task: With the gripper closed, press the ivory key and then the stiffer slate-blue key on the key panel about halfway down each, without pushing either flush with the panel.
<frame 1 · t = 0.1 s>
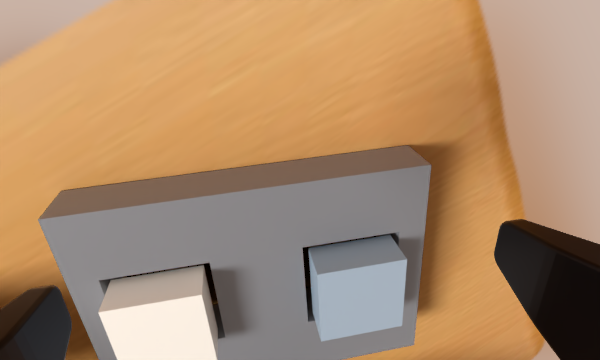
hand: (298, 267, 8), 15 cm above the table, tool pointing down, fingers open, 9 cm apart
slate key: (356, 287, 23), point 4 cm above the table, slide at 0.0 cm
key panel: (258, 262, 26), on the table
ivory key: (165, 321, 22), point 4 cm above the table, slide at 0.0 cm
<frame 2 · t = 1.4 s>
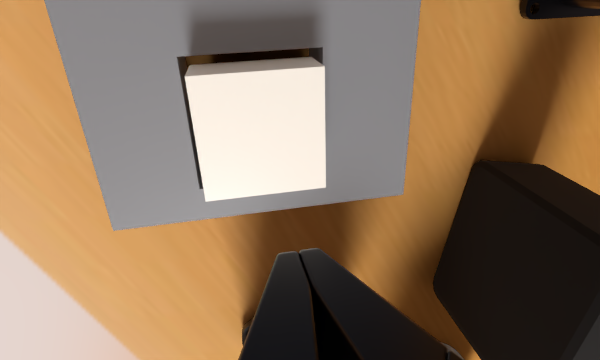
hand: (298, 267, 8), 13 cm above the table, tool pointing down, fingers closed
electronic device: (476, 225, 26), on the table
ivory key: (259, 127, 16), point 4 cm above the table, slide at 0.0 cm
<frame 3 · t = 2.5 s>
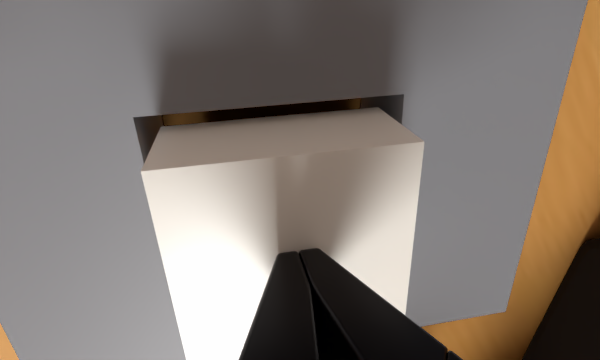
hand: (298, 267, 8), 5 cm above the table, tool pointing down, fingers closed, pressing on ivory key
electronic device: (573, 316, 19), on the table
ivory key: (287, 236, 9), point 4 cm above the table, slide at 0.1 cm, touching gripper
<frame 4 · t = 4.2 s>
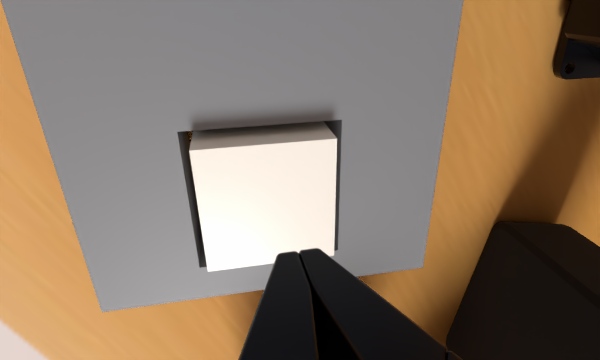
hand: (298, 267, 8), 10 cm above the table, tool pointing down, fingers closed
electronic device: (494, 284, 24), on the table
key panel: (251, 38, 15), on the table
ivory key: (265, 193, 15), point 3 cm above the table, slide at 1.2 cm
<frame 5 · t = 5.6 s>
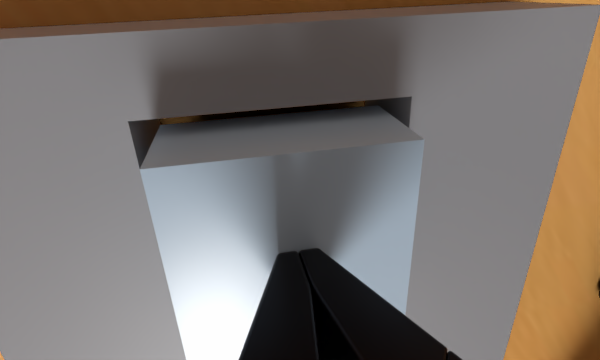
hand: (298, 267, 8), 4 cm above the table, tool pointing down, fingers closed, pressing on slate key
slate key: (287, 235, 9), point 3 cm above the table, slide at 0.5 cm, touching gripper
key panel: (281, 309, 14), on the table
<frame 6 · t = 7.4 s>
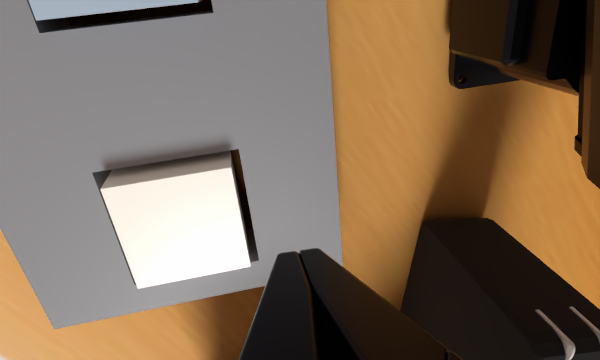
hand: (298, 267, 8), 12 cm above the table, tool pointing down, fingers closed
electronic device: (434, 277, 26), on the table
key panel: (160, 81, 17), on the table
ivory key: (184, 216, 17), point 3 cm above the table, slide at 1.2 cm
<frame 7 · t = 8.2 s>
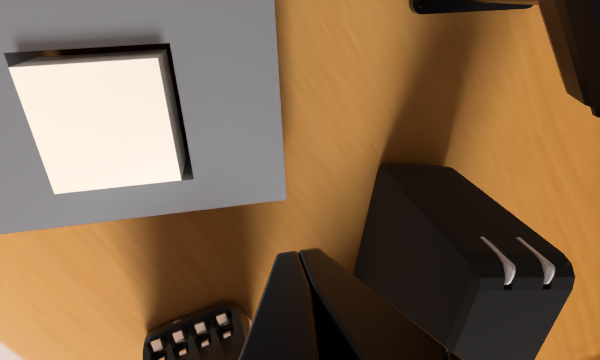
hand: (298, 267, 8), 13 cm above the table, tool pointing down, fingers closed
electronic device: (391, 230, 25), on the table
ivory key: (111, 120, 16), point 3 cm above the table, slide at 1.2 cm
battery charger: (195, 322, 25), on the table
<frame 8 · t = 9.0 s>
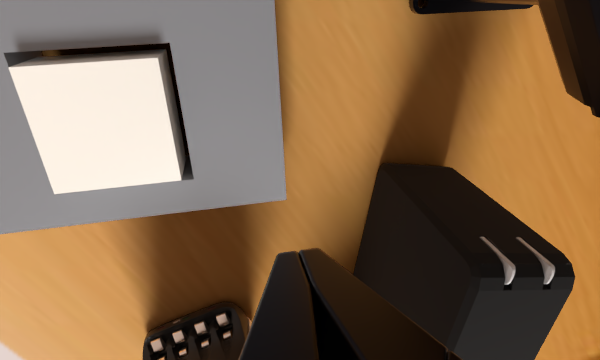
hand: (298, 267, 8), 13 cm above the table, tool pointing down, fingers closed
electronic device: (391, 230, 25), on the table
ivory key: (111, 120, 16), point 3 cm above the table, slide at 1.2 cm
battery charger: (195, 322, 25), on the table
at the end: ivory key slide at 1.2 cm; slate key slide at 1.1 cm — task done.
